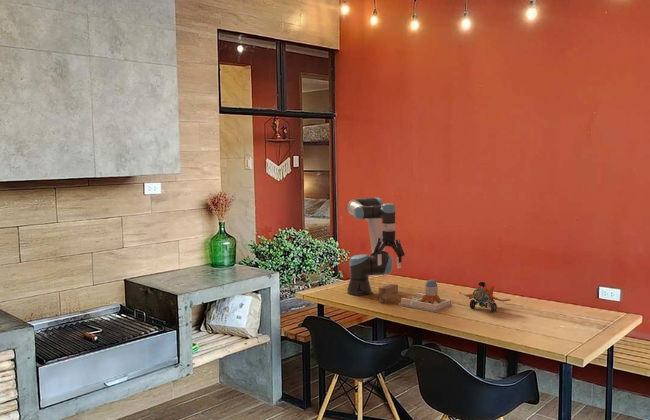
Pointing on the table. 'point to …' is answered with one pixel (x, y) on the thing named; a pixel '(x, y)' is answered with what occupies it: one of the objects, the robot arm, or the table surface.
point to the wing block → (388, 293)
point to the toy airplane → (483, 297)
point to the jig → (425, 303)
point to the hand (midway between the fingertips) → (389, 266)
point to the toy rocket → (431, 292)
